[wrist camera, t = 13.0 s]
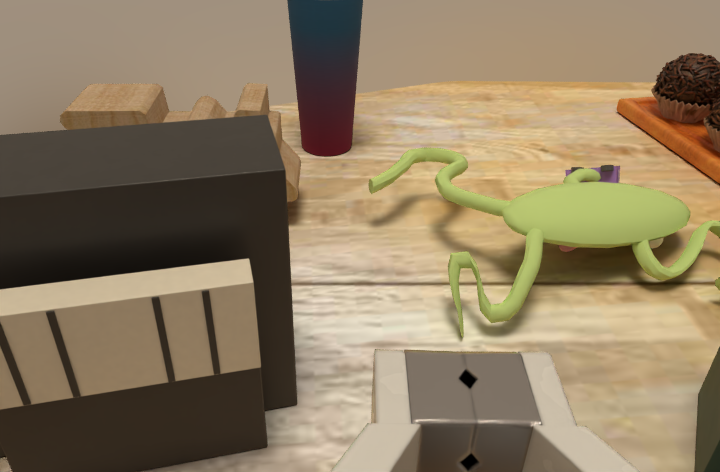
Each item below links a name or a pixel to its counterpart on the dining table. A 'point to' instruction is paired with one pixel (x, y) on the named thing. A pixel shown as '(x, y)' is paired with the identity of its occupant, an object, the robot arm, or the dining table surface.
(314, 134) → the cup
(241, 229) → the toy piano
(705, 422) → the box
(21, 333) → the piano keyboard
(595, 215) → the figurine
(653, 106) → the chocolate truffle
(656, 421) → the dining table surface
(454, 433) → the robot arm
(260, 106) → the toy train
